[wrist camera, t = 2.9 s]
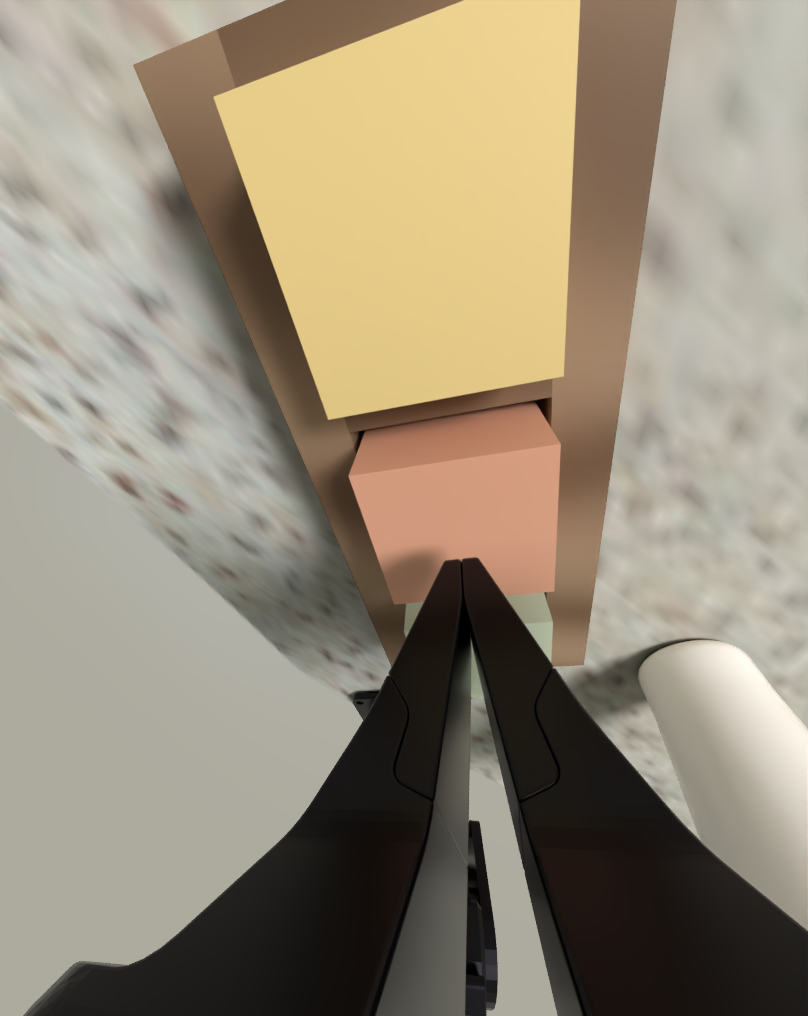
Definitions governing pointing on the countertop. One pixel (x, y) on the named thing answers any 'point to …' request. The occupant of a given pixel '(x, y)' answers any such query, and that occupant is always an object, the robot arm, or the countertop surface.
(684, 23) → the countertop surface
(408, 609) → the sage key
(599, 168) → the brown wooden slotted tray
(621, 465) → the countertop surface
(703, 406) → the countertop surface
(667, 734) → the white tall cylinder
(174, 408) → the countertop surface
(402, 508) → the terracotta key
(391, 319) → the ochre key
